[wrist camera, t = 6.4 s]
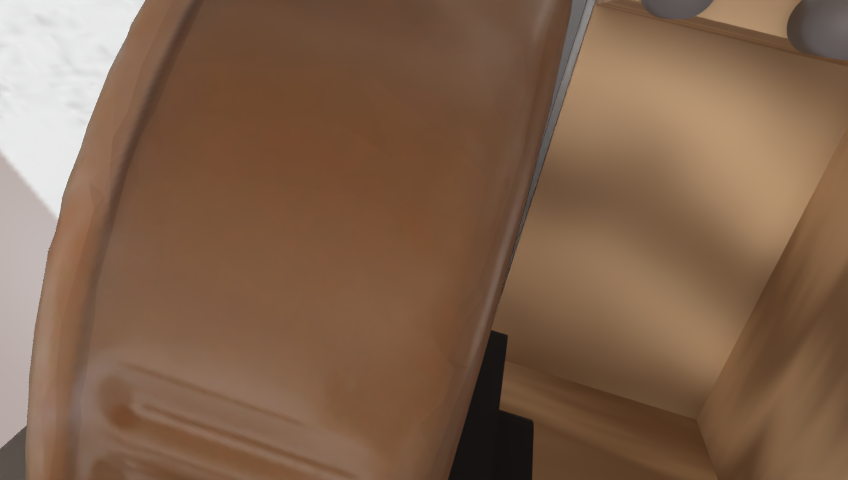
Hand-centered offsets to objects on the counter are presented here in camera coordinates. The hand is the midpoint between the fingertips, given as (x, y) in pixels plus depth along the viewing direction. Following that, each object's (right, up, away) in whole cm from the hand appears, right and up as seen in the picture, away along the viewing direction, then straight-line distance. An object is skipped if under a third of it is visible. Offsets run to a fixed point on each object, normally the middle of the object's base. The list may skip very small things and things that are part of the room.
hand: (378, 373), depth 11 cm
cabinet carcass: (+10, +3, +12) cm, 16 cm away
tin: (+1, 0, +2) cm, 2 cm away
